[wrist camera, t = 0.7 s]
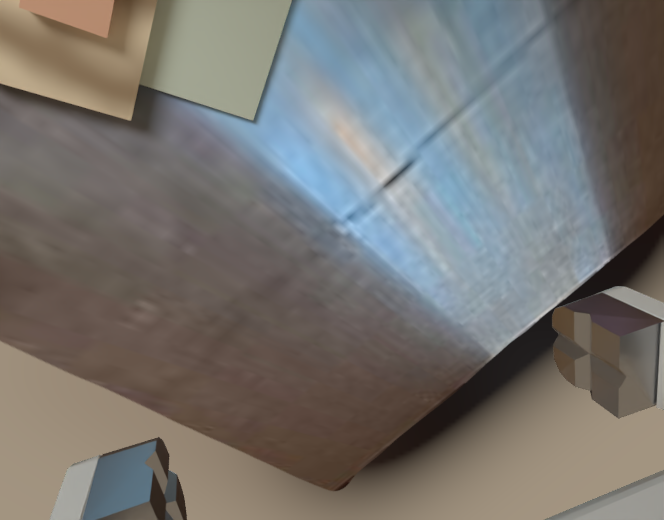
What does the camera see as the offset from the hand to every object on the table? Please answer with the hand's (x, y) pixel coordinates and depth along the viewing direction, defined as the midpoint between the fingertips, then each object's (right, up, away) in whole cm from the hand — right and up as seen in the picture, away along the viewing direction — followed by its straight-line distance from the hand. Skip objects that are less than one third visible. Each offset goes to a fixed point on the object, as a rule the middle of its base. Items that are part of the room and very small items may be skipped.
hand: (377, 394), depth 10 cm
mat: (-11, +25, +34) cm, 44 cm away
